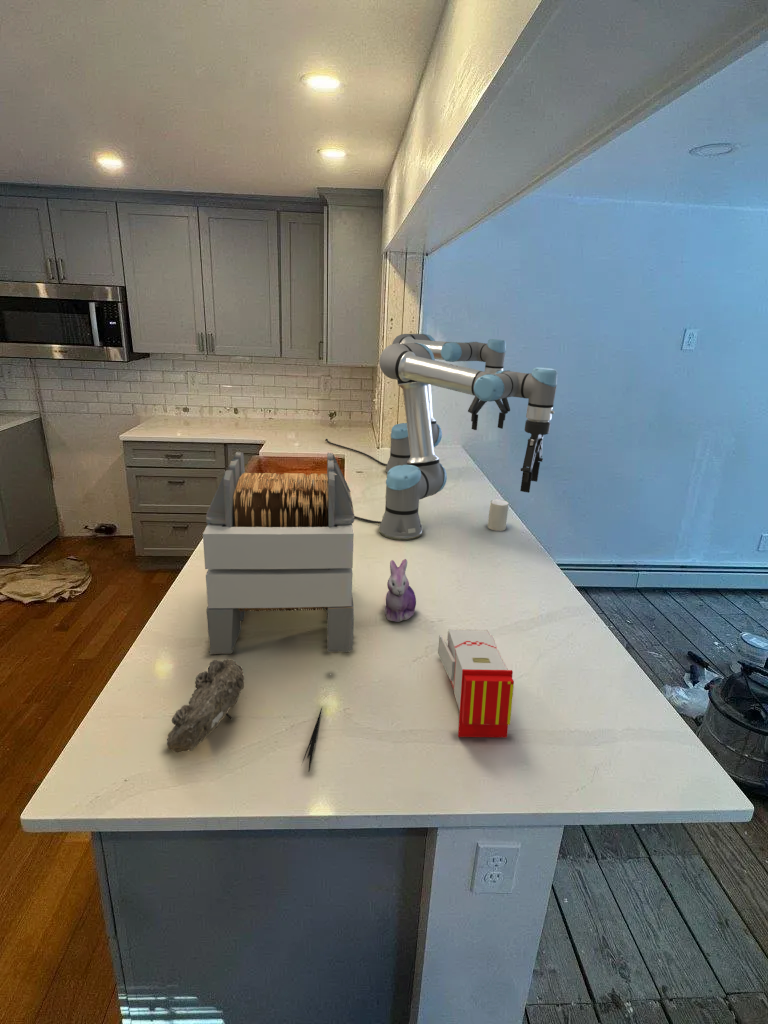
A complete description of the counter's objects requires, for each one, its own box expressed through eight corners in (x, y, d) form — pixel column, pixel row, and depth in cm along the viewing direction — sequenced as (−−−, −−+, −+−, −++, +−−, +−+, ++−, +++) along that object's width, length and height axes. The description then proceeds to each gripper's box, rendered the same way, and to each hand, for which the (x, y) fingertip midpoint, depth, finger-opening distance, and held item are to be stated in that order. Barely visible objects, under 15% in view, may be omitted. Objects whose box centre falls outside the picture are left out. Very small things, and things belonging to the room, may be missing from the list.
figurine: (392, 627, 141) (395, 572, 136) (374, 608, 149) (376, 556, 144) (425, 619, 145) (429, 566, 140) (405, 601, 154) (408, 550, 149)
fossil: (192, 660, 117) (244, 628, 112) (224, 691, 120) (276, 661, 115) (142, 746, 98) (202, 712, 93) (182, 779, 101) (242, 748, 96)
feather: (331, 679, 122) (336, 673, 122) (307, 777, 96) (313, 769, 95) (324, 675, 122) (329, 669, 121) (298, 772, 95) (304, 764, 95)
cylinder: (503, 532, 206) (506, 506, 203) (485, 528, 208) (488, 503, 205) (507, 526, 212) (510, 501, 208) (489, 523, 214) (492, 498, 211)
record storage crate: (229, 585, 158) (221, 442, 144) (346, 584, 161) (350, 444, 148) (206, 656, 126) (193, 481, 112) (353, 652, 130) (358, 483, 116)
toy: (488, 613, 130) (523, 677, 101) (484, 667, 133) (517, 744, 104) (435, 612, 130) (455, 676, 101) (432, 666, 133) (451, 743, 103)
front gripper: (544, 428, 162) (533, 498, 169) (557, 415, 183) (547, 478, 190) (517, 425, 164) (508, 494, 172) (533, 412, 186) (524, 474, 193)
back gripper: (473, 379, 227) (467, 432, 234) (522, 379, 237) (516, 429, 245) (462, 377, 233) (457, 428, 240) (511, 376, 244) (505, 425, 251)
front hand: (529, 486), depth 181 cm, fingers open, 13 cm apart
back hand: (487, 428), depth 242 cm, fingers open, 13 cm apart
